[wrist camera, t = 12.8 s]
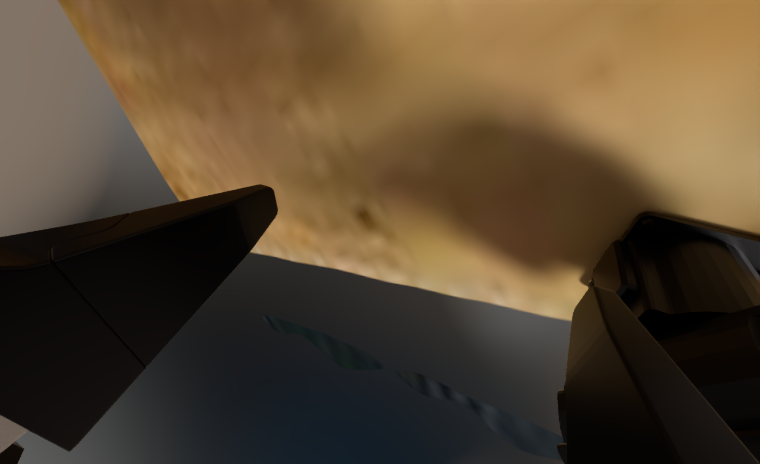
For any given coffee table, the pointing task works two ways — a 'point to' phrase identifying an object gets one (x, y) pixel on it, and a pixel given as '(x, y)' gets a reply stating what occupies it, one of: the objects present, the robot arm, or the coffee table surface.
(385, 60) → the coffee table surface
